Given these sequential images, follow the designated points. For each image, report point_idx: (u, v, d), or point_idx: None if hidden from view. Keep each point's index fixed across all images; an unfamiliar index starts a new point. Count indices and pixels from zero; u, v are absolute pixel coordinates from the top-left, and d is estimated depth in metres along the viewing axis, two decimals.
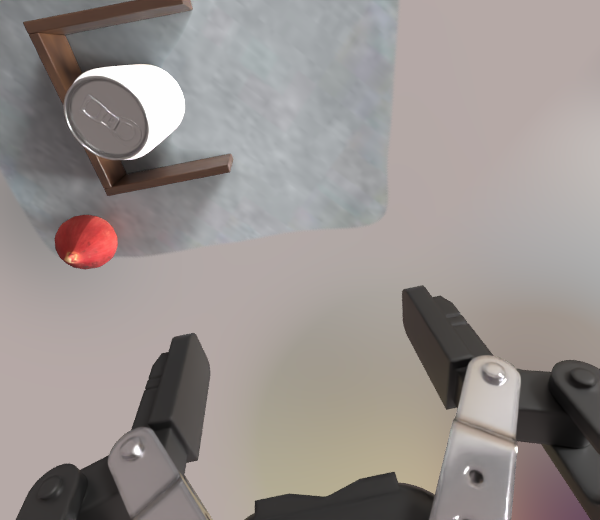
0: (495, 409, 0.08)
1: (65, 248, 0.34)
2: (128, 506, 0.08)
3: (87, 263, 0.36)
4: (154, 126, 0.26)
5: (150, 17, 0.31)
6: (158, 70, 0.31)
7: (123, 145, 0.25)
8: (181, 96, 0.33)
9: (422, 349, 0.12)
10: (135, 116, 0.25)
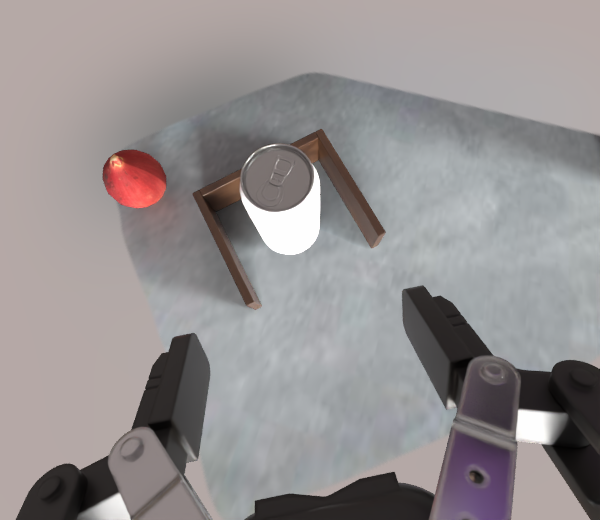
0: (495, 409, 0.08)
1: (127, 157, 0.33)
2: (127, 507, 0.08)
3: (111, 177, 0.32)
4: (282, 217, 0.26)
5: (354, 217, 0.37)
6: (318, 226, 0.35)
7: (257, 192, 0.26)
8: (302, 249, 0.35)
9: (422, 349, 0.12)
10: (287, 199, 0.26)
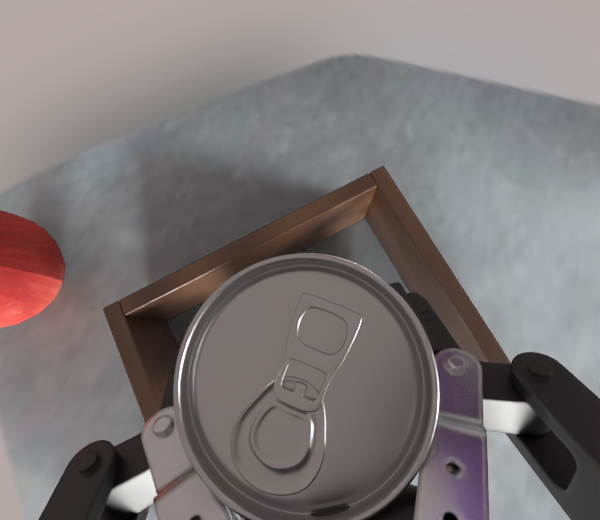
0: (462, 400, 0.08)
1: None
2: (155, 482, 0.08)
3: None
4: None
5: None
6: None
7: (232, 433, 0.07)
8: None
9: None
10: (342, 466, 0.07)
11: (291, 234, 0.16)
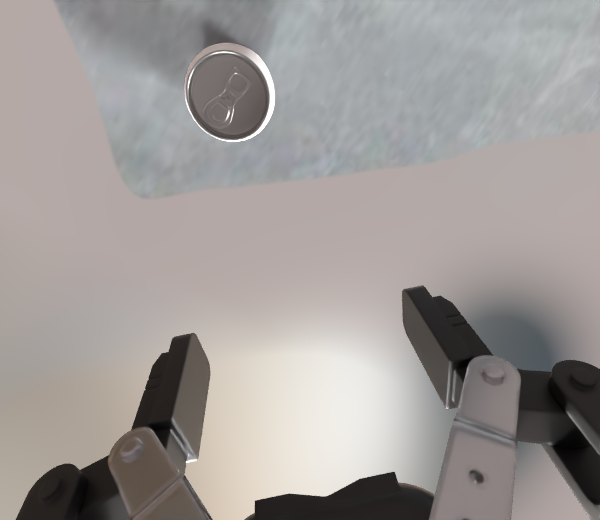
0: (495, 409, 0.08)
1: None
2: (128, 507, 0.08)
3: None
4: None
5: None
6: None
7: (203, 107, 0.24)
8: None
9: (422, 349, 0.12)
10: (235, 126, 0.25)
11: None
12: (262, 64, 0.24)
